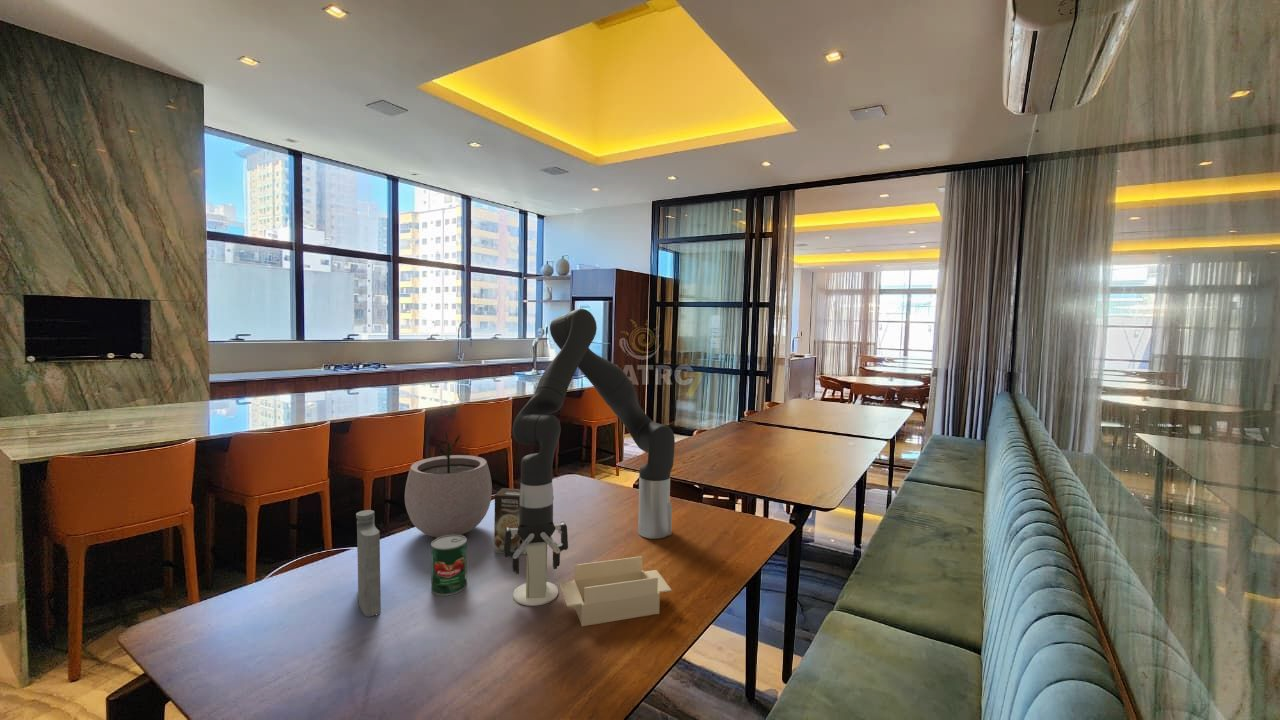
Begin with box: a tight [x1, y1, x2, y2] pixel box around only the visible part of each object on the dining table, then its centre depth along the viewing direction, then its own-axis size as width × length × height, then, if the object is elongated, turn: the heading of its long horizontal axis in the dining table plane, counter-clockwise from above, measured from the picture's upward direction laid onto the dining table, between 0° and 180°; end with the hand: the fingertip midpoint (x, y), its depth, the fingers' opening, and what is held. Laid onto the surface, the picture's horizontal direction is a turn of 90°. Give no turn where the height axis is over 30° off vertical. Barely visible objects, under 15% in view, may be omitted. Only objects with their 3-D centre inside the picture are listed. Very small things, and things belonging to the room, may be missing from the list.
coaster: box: [513, 581, 559, 607], centre depth 119 cm, size 10×10×1 cm
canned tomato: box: [430, 535, 468, 596], centre depth 121 cm, size 8×8×11 cm
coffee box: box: [493, 487, 527, 555], centre depth 142 cm, size 9×6×16 cm
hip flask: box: [355, 509, 382, 617], centre depth 115 cm, size 16×4×20 cm, turn 31°
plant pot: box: [404, 432, 493, 538], centre depth 152 cm, size 24×24×30 cm
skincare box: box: [525, 542, 548, 598], centre depth 119 cm, size 6×4×12 cm
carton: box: [558, 555, 672, 627], centre depth 114 cm, size 23×11×8 cm, turn 108°
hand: (536, 570), depth 119 cm, fingers open, 8 cm apart
